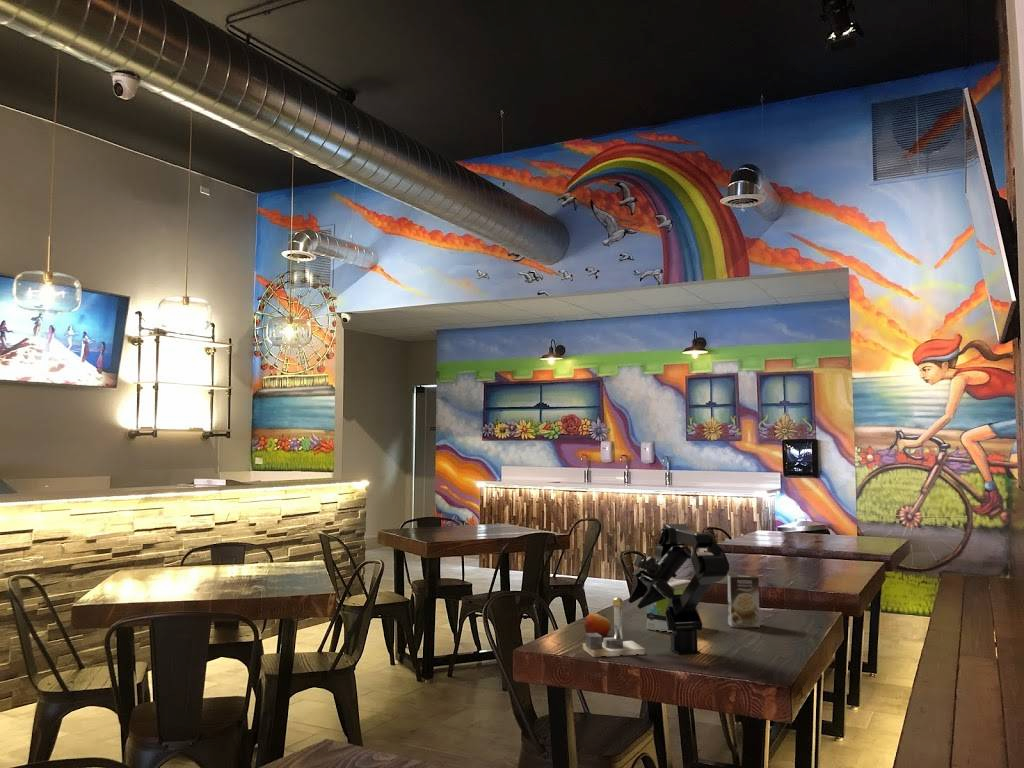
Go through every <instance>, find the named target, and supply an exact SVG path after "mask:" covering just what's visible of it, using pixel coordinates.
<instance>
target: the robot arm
mask: <svg viewBox="0 0 1024 768" xmlns="http://www.w3.org/2000/svg"><path fill="white" fill-rule="evenodd" d="M656 542H657V545H656V546H655V548H654V551H653V555H654V556H653V557H652V556H648V557H647V558H646V557H643V556H641V555H639V554H637V555H636V557H635V560H634V563H633V566H634V567H637V568H636V569H635V570H634V571H633V572H632V575H633V576H634V577H633V578H634V582H635V584H634V588H633V589H632V591H631V593H630V595H629V597H628V600H627V602H629V604H632V603H634V602H637V600H639V599H640V601H639V602H638V603H637V606H636V608H638V609H640V610H642V608H645V607H647V606H648V605H650V604H652V603H655V602H658V601H660V600H663V599H666V598H668V599H670V600H669V601H668V602H669V603H668V605H667V607H666V611H665V615H666V622H667V627H668V630H671V631H672V633H670V647H669V649H670V651H672V650H673V651H672V652H674V653H676V654H677V655H689V654H690V655H691V654H700V653H701V651H700V650H699V649H698V631H702V628H703V622H702V618H701V617H700V613H699V611H698V609H697V608H698V607H697V606H698V605H699V604H700V602H701V600H703V598H704V596H705V594H706V593H707V592H708V590H709V589H710V587H711V586H712V585H713V584H714V583H717V582H720V581H722V580H723V579H725V578H726V577H728V574H729V572H730V571H729V570H730V563H729V560H728V557H727V555H726V552H725V550H724V549H723V548H722V547H721V546H720V545H718V544H717V543H716V542H715V540H714V538H713V536H712V534H710V533H708V532H705V533H704V532H700V531H696V530H691V529H690V526H689V525H688V524H686V523H666V524H663V527H662V528H661V530H660V534H659V536H658V538H657V541H656ZM688 546H689V547H691V548H692V550H693V551H692V550H691V549H690V548H689V547H688ZM698 549H708V551H709V552H710V553H711V554H710V555H708V554H707V555H706V554H705V555H698V553H697V551H698ZM688 560H690V561H691V563H692V567H693V569H694V570H693V571H694V573H695V574H694V575H693V577H692V578H691V581H690V583H689V584H688V586H687V588H686V589H685V591H684V592H683V594H676V595H674V589H673V588H672V587H671V586H670V585H669V584H668V583H667V582H668V581H669V580H670V579H671V578H672V579H676V577H677V574H676V573H677V572H678V571H679V570H680V569H681V568H682V566H683V565H684V564H685V563H686V562H687V561H688ZM664 596H665V597H666V598H665V597H664ZM686 622H693V623H686Z"/></svg>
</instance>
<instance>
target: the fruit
mask: <svg viewBox="0 0 1024 768" xmlns="http://www.w3.org/2000/svg"><path fill="white" fill-rule="evenodd" d="M611 625H612V624H611V621H609V619H608V618H606V617H604V616H603V615H601V614H599V613H596V612H595V613H589V614H588V615H587V616H586V618H585V620H584V630H585V633H598V634H599V635H601V636H602V639H603V638H604V637H607V636H608V634H609V632H610V630H611V627H612V626H611Z"/></svg>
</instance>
